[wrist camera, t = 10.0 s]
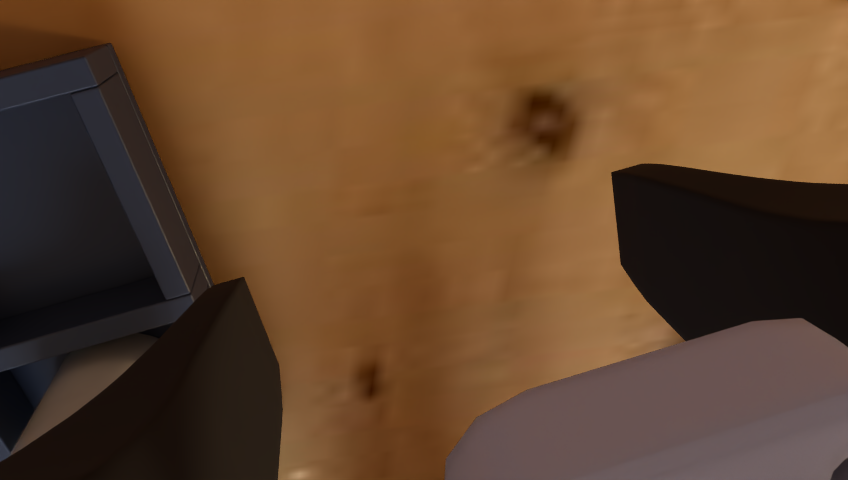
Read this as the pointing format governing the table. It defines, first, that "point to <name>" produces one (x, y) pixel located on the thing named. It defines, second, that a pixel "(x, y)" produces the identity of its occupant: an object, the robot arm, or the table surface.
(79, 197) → the cup holder
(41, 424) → the cream cup
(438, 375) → the table surface
